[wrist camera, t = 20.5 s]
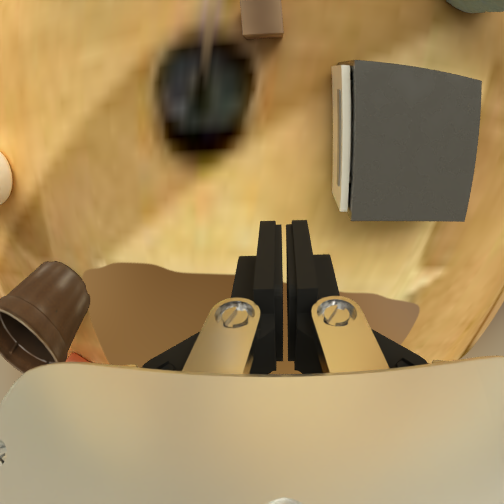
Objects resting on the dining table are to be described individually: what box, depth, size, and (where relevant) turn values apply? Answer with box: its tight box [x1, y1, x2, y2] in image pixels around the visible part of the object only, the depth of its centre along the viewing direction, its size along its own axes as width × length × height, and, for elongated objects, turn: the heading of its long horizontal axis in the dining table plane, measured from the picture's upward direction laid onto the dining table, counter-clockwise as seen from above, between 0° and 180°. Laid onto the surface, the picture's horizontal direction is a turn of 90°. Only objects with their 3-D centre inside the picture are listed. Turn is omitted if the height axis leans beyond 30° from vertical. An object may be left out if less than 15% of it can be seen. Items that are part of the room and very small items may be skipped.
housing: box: [338, 60, 482, 222], centre depth 30 cm, size 14×16×8 cm
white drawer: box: [332, 65, 353, 212], centre depth 30 cm, size 13×15×6 cm
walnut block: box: [240, 0, 284, 39], centre depth 26 cm, size 4×4×4 cm
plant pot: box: [0, 261, 90, 374], centre depth 44 cm, size 16×16×16 cm
